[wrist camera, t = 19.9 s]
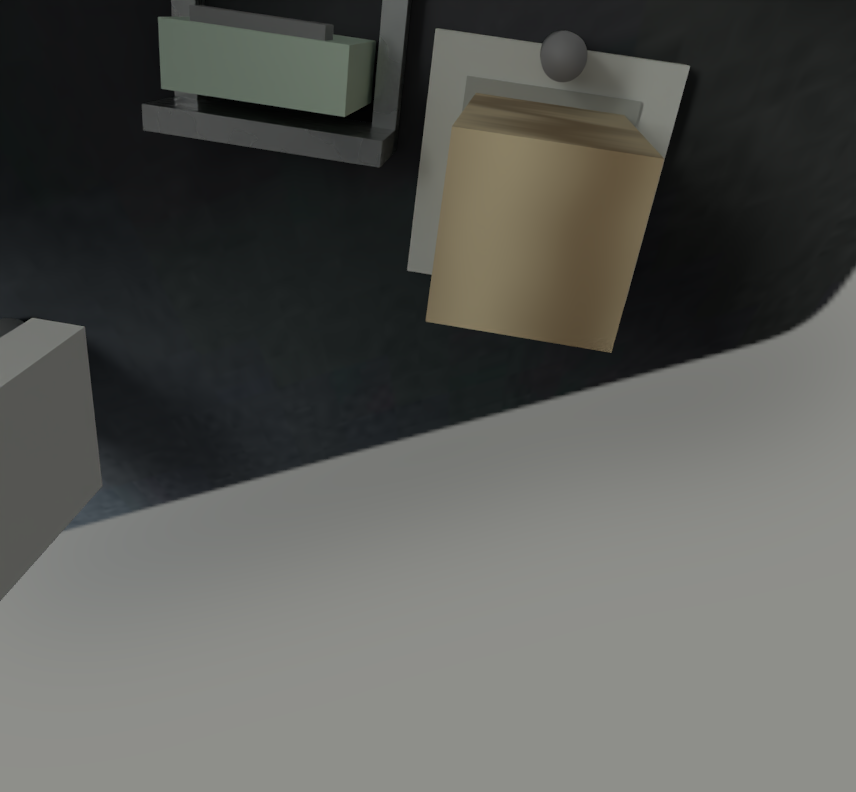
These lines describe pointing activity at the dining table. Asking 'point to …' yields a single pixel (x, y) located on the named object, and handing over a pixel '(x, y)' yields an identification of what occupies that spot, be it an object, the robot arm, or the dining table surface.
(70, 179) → the dining table surface
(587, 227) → the block
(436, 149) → the seat plate
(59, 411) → the robot arm
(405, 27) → the housing frame
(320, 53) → the cover
